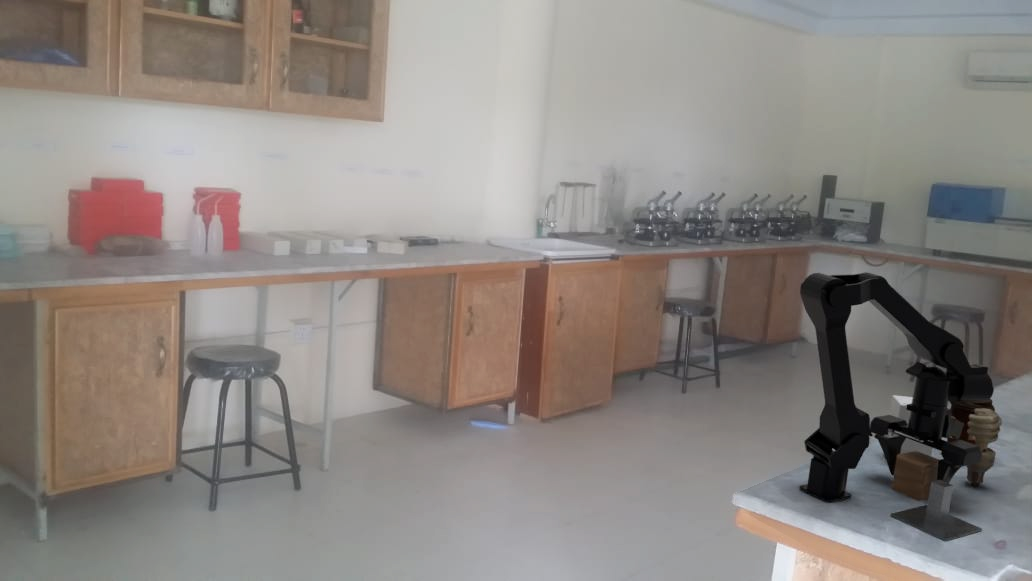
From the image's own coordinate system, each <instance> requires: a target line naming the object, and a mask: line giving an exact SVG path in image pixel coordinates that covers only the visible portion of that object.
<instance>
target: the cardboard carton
mask: <svg viewBox="0 0 1032 581" xmlns="http://www.w3.org/2000/svg"><path fill="white" fill-rule="evenodd" d="M938 460H940V459H939V458H936V457H934V456H932V455H931V456H928V455H926V454H923V453H920V452H918V451H913V452H908V453H903V454H897V459H896V465H895V471H894V476H892V477H893V478H892V485H891V490H893V491H895V492H898V493H899V494H902V495H904V496H906V497H909V498H910V499H914V500H916V501H920V502H921V501H925V500H928V499H929V493H930V487H931V482H933V481H937V472H938Z"/></svg>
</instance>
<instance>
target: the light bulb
mask: <svg viewBox="0 0 1032 581" xmlns="http://www.w3.org/2000/svg"><path fill="white" fill-rule="evenodd" d="M969 419H970V421H969V422H968V426H969V429H968V430H967V432H968V434H969V435H973V436H975V442H976V444H975V445H977V446H979V447H980V449H981V452H982V456H981V462H979V463H974V464H971V465H967V466H965V467H966V468H967V470H966V471H967V474H966V479H967V481H968V482H970V483H971V485H972V486H974V487H979V486H980V484H982V483H983V482H984V476H985V474H986V472H988V471H989V470H990V469H991V468H992V467H993V466H994V462H995V459H996V451H994V450H993V449H992V448H990V447H988V446H989V444H992V443H994V442H996V441H997V440H998V438H999V433H1000V432H1001V426H1002V424H1003V420H1002V418H1001V417H1000V415H999V413H998V412H996V410H995V411H993V410H991V409H986V408H980V409H979V408H976V409H975V414H970V415H969Z"/></svg>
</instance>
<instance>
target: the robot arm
mask: <svg viewBox="0 0 1032 581" xmlns="http://www.w3.org/2000/svg"><path fill="white" fill-rule="evenodd" d="M887 280H888V279H886V278H885V277H884V276H882V275H879V274H874V273H871V272H868V271H867V272H866V271H865V272H862V273H861V272H860V273H854V274H831V275H830V274H829V275H828V274H824V273H822V272H821V273H820V272H814V273H812V274H809V275H808V276H807V277H805V279H804V281H802V283H800V289H799V291H800V292H799V294H800V299H801V300H802V304H803V306H804V310H805V312H806V314H807V315H808V317H809V319H810V321H811V323H812V324H813V326H814V329H815V335H816V342H817V351H818V358H819V366H820V373H821V380H822V387H823V388H822V389H823V396H824V406H823V409H822V410H821V413H820V415H819V426H818V428H817V429H816V430H815V431H814V432H813V433H811V434H810V435H809V436H808V437H807V438H806V439H805V440H804V447H805V452H806V453H809V454H811V455H812V458H810V464H809V472H808V478H807V483H806V484H801V485H799V490H801V491H804V492H806V494H807V493H808V494H809V495H812V496H814V497H815V498H818V499H820V500H822V501H825V502H826V503H827V502H828V503H831V502H836V501H841V500H844V499H850V498H852V496H853V494H852V493H850V492H847V491H845V490H846V489H847V487H846V486H847V483H848V482H847V481H848V475H849V470H856V469H857V467H858V465H859V463H860V460H861V459H862V457H863V455H864V452H865V451H866V449H868V448H869V446H870V437H874V439H876V440H877V442H878V443H879V445H880V448H881V450H882V454H883V453H884V455H885V456H884V457H885V461H886V464H887V466H888V470H889V473H890V476H892V477H894V471H895V465H896V459H897V454H900V453H901V447H902V444H903V443H904V441H905V439H906V438H908V439H910V440H913V441H916V442H919V443H921V444H924V445H927V446H929V447H932V448H933V449H934V450H938V451H940V452H941V453H940V456H941V457H942V458H941V459H939V460H938V472H937V480H942V481H944V482H947V483H949V484H950V482H951V481H952V479H953V478H954V476H955V474H956V473H957V472H958V471H959V470H960V469H961V468H962V467H966V466H967V465H971V464H974V463H979V462H981V456H982V452H981V449H980V447H979V446H977V445H974V444H971V443H968V442H966V441H963V440H957V441H952V442H947V440H944V439H943V438H945V439H947V438H950V436H952V437H953V438H955V439H959V437H960V434H961V431H962V429H963V426H964V423H962V422H960V421H958V420H956V419H953V418H951V409H950V408H948V406H949V401H948V399H950V400H951V401H953V402H974V403H984V402H987V401H989V399H991V398H992V396H993V395H994V392H995V389H994V386H993V380H992V378H991V376H990V375H989V374H988V373H989V372H988V371H989V367H988V366H986V365H983V364H980V363H973V364H970V362H969V360H968V358H967V356H966V354H965V352H964V348H965V345H964V342H963V341H962V339H960V338H959V337H958V336H955V334H953V333H951V332H949V331H947V330H946V329H943V328H942V327H940V326H938V325H936V324H934V323H933V322H931V321H930V320H928V319H927V318H926V317H925V316H923V314H921V312H919V311H918V310H917V308H915V307H914V306H913V305H912V304H911V303H910V302H909V301H907V300H906V299H905V298H904V297H903V296H902V295H901V294H900V292H898V291H897V290H896V289H895V288H894V287H893V286H891V284H889V282H888V281H887ZM867 302H868V303H870V304H871V305H873V306H874V307H875V309H877V310H878V311H879V312H880V313H881V314H882V315H884V317H886V318H887V320H888V321H890V322H891V323H892V324H893V325H894V326H895V327H896V328H897V329H899V330H900V331H901V332H902V334H903V335H904V336H905V337H906V339H907V344H908V345H909V347H910V348H911V349H912V352H914V354H915V356H917V357H918V358H920V359H921V360H923V361H925V362H928V363H930V364H932V365H935V366H927V365H926V364H925V363H922V362H919V361H916V362H915V363H914V364H913V365H911V366H910V367H908V368H906V370H905V373H906V374H908V375H910V376H912V377H915V381H914V387H913V394H912V397H913V399H912V404H907V408H906V410H909V411H910V417H909V423H908V424H907V422H906V420H903V419H900V418H897V417H895V416H892V415H889V414H885V415H880V416H875V417H873V418H872V419H871V418H870V414H869V413H868V412H866V411H864V410H863V409H860V408H859V407H857V406H856V403H855V397H854V388H853V379H852V372H851V365H850V364H851V363H850V358H849V357H850V356H849V347H848V346H849V345H848V340H847V331H846V325H847V323H848V320H849V318H850V315H851V313H852V307H853V306H859V305H863V304H864V303H867ZM937 366H939V367H937ZM941 368H943V369H945V370H946V371H944V370H942V369H941ZM873 434H874V436H873ZM928 440H929V441H928ZM930 441H933V442H930Z"/></svg>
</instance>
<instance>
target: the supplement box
mask: <svg viewBox="0 0 1032 581" xmlns="http://www.w3.org/2000/svg"><path fill="white" fill-rule="evenodd" d="M912 399H913V396H904V395H895V394H892V397H891V401H890V406H889V407H890V408H889V413H888V415H892V416H895V417H897V418H900V419H903V420H906V422H907V424H908V423H909V417H910V411H909V410H906V408H907V404H912ZM928 441H929V440H928ZM930 442H933V441H930ZM933 449H934V448H932V447H929V446H927V445H924V444H921V443H919V442H916V441H913V440H910V439H908V438H906V439H905V441H904V443H903V444H902V447H901V453H900V454H903V453H908V452H913V451H918V452H920V453H923V454H926V455H928V456H931V457H932V454H933ZM882 455H884V453H883V452H882ZM884 457H885V455H884Z"/></svg>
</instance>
